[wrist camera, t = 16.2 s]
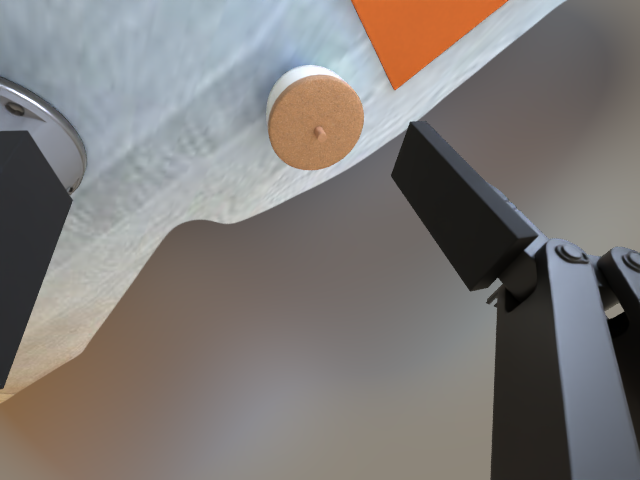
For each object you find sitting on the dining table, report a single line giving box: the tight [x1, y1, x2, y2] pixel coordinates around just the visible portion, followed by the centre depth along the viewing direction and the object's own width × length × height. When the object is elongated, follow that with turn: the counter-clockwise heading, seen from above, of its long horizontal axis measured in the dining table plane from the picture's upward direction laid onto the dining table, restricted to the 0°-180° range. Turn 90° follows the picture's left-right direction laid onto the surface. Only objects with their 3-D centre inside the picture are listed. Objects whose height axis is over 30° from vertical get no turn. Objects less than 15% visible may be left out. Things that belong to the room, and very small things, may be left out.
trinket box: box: [266, 65, 364, 170], centre depth 35 cm, size 11×11×9 cm
